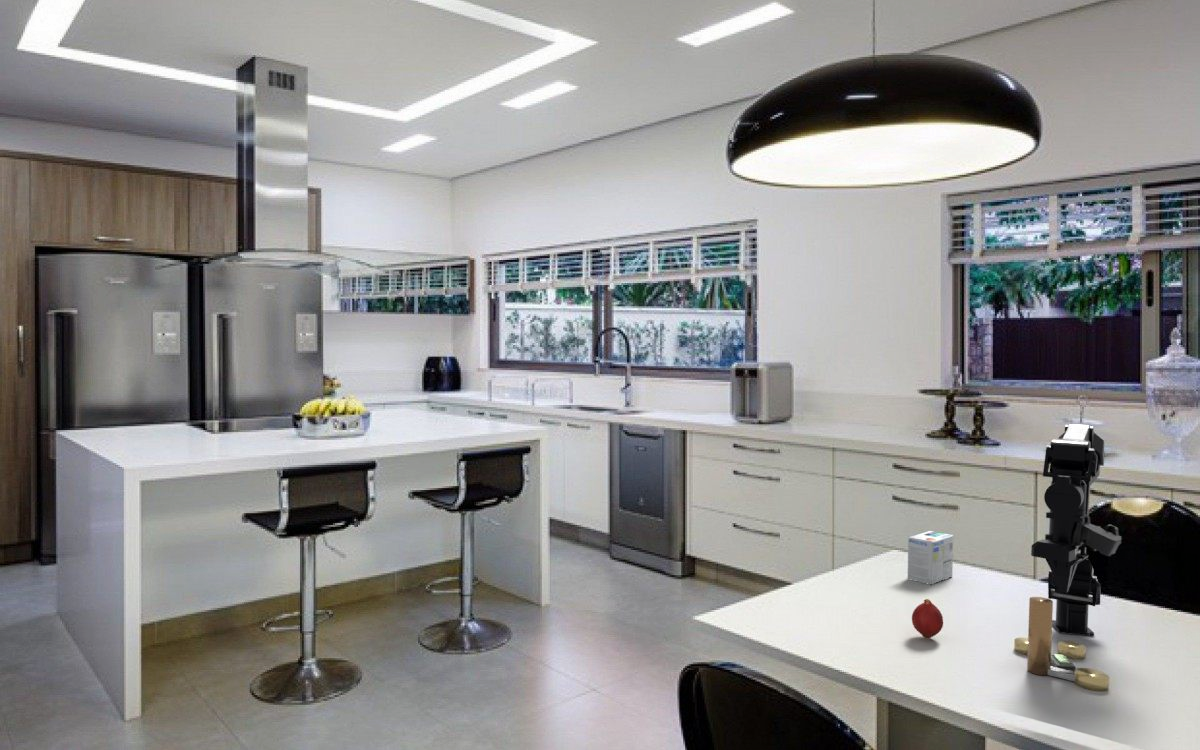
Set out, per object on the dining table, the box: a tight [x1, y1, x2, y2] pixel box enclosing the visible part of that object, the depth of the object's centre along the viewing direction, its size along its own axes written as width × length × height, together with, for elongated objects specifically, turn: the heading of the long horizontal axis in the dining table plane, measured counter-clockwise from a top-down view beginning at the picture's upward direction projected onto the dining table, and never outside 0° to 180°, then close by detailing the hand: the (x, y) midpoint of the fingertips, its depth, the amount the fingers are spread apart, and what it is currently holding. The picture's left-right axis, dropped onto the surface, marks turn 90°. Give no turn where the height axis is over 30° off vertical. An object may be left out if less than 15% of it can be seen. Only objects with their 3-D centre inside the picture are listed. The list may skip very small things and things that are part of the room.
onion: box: [911, 598, 944, 640], centre depth 162 cm, size 6×6×8 cm
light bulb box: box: [907, 530, 954, 585], centre depth 202 cm, size 11×7×11 cm, turn 130°
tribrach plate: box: [1013, 637, 1086, 672], centre depth 145 cm, size 20×20×3 cm
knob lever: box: [1026, 596, 1110, 692], centre depth 140 cm, size 12×5×13 cm, turn 51°
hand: (1064, 591), depth 151 cm, fingers closed
